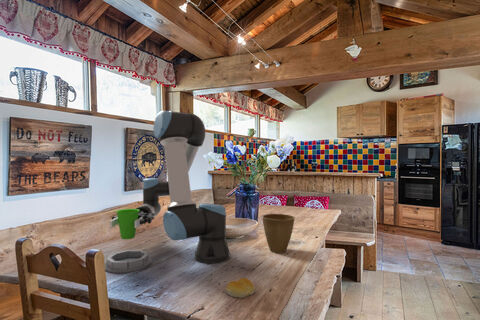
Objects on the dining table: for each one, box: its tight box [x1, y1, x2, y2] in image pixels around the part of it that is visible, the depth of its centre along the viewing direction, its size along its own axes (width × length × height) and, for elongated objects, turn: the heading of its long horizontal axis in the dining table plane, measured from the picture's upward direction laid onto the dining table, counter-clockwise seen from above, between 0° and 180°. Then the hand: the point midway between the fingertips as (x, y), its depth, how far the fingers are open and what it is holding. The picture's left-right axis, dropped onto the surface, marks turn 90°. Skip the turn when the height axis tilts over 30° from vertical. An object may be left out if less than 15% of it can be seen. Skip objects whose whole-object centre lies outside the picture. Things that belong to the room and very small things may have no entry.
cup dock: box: [105, 249, 152, 274], centre depth 117 cm, size 18×18×4 cm
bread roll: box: [225, 277, 256, 299], centre depth 92 cm, size 8×9×4 cm
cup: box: [115, 208, 140, 240], centre depth 117 cm, size 9×9×11 cm
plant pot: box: [262, 213, 296, 254], centre depth 134 cm, size 15×15×16 cm
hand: (123, 224), depth 112 cm, fingers closed on cup, 9 cm apart
